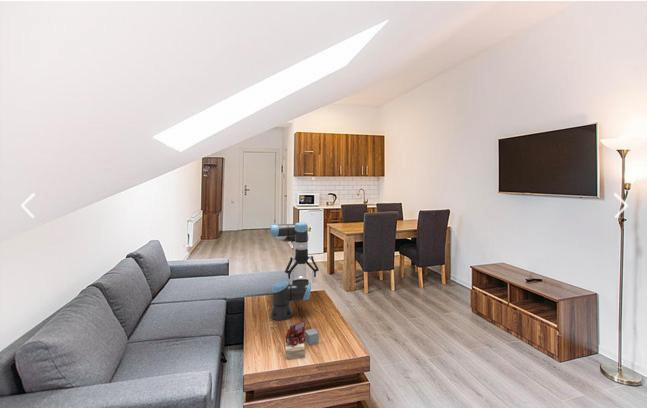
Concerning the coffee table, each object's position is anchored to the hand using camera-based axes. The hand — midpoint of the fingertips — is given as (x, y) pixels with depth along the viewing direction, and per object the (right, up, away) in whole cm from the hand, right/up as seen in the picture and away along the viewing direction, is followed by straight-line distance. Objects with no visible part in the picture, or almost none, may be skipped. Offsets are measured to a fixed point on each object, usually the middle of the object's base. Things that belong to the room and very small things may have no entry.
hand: (302, 283), depth 185 cm
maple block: (-3, -34, -15) cm, 37 cm away
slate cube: (+6, -32, -7) cm, 34 cm away
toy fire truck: (-3, -29, -15) cm, 33 cm away
